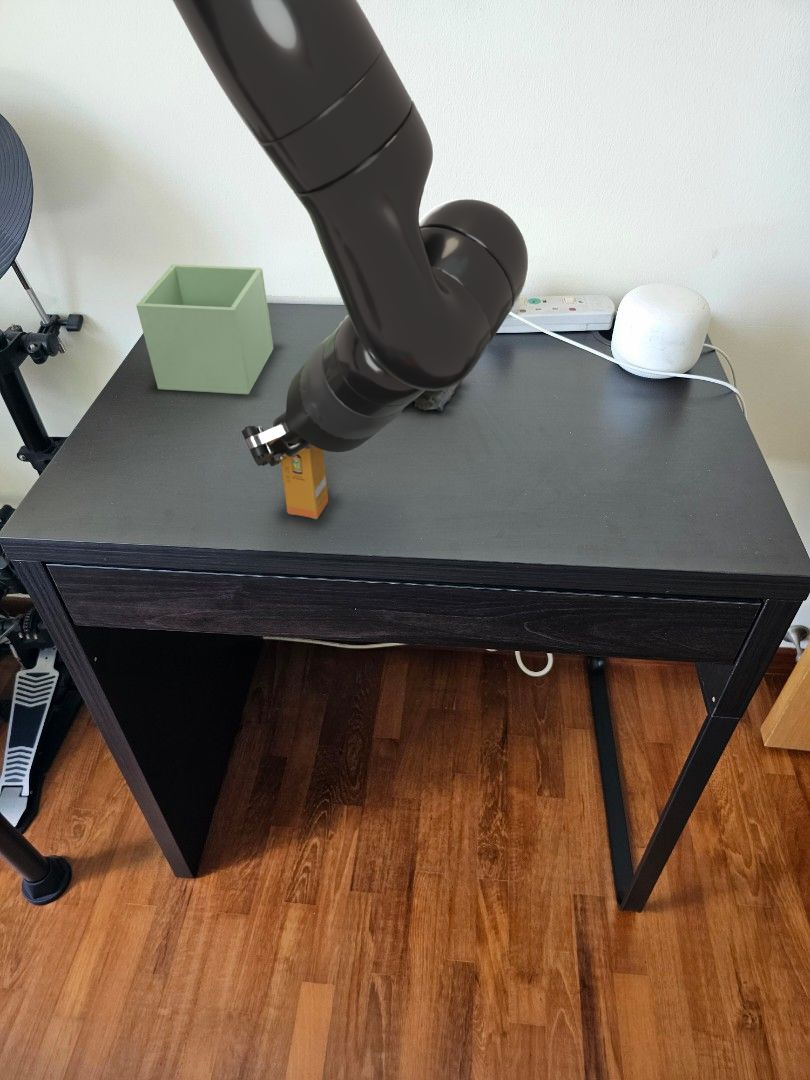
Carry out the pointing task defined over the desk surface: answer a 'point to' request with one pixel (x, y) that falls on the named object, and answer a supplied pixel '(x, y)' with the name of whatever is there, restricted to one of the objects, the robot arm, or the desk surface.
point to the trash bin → (207, 328)
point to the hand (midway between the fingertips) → (292, 446)
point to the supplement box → (305, 483)
